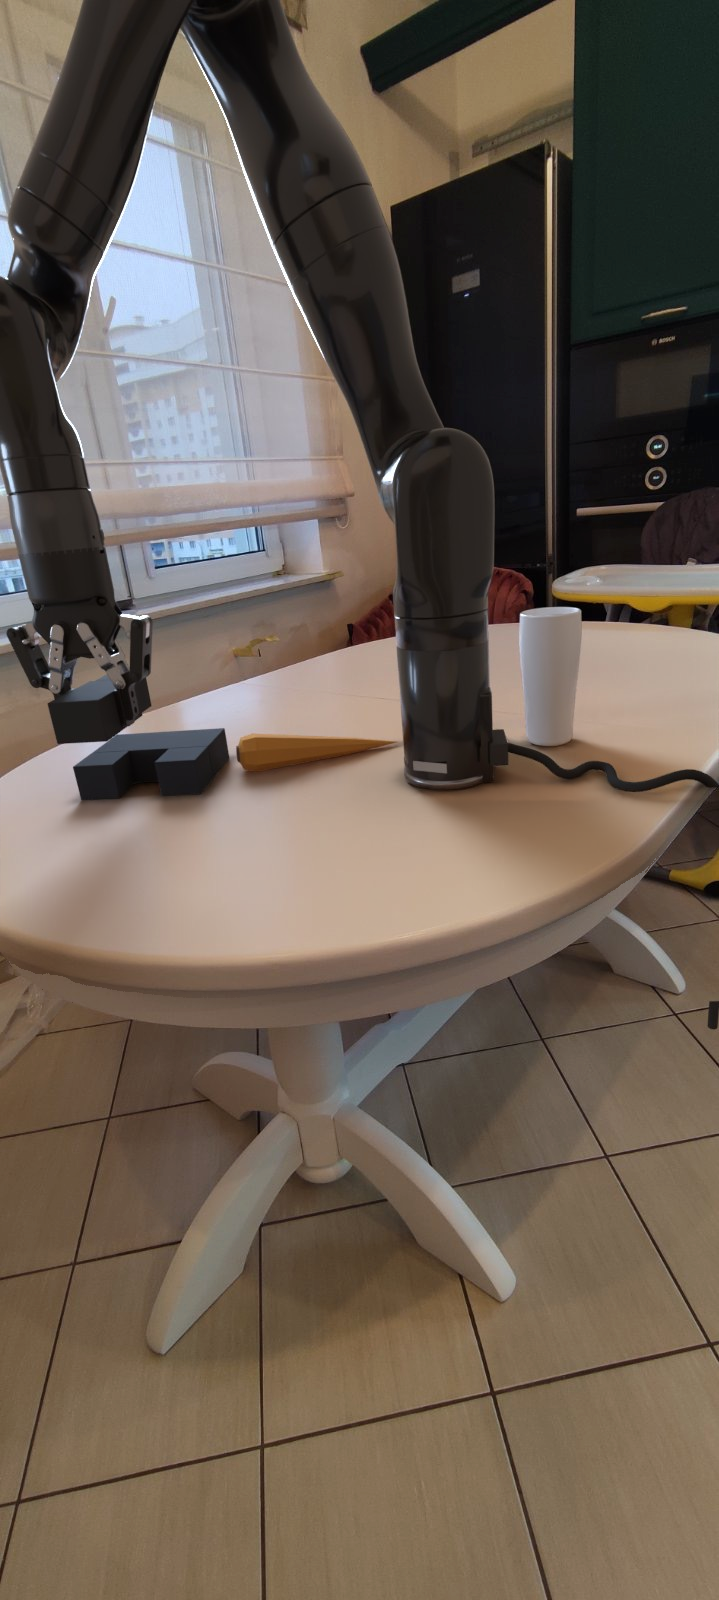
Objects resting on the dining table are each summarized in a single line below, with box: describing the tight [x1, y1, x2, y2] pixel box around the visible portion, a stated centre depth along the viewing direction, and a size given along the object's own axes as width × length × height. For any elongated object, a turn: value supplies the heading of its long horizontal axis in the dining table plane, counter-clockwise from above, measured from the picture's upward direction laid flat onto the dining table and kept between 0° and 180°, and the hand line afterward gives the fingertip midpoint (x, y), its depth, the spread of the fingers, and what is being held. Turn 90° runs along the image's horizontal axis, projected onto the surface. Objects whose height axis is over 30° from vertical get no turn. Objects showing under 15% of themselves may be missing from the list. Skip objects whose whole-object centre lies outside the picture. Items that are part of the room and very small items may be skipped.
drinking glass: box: [518, 606, 583, 747], centre depth 83 cm, size 7×7×15 cm
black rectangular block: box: [46, 674, 153, 745], centre depth 73 cm, size 5×13×4 cm, turn 175°
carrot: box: [235, 733, 398, 773], centre depth 87 cm, size 20×4×4 cm, turn 106°
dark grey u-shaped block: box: [72, 727, 230, 801], centre depth 85 cm, size 14×12×4 cm
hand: (101, 725), depth 72 cm, fingers closed on black rectangular block, 5 cm apart
